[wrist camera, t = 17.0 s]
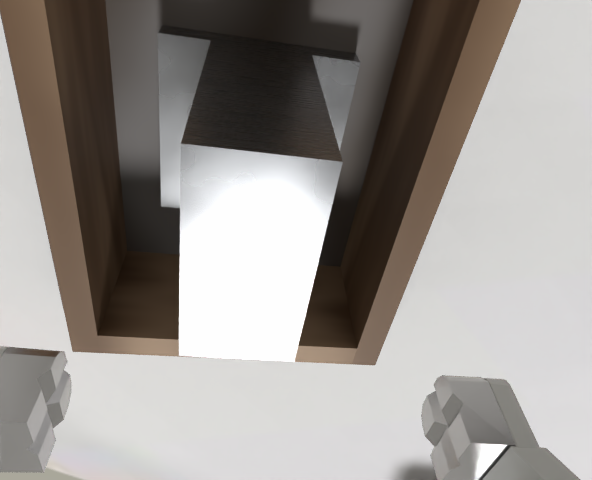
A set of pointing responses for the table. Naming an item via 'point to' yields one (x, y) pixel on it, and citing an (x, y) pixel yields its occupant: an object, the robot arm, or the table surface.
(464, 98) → the well box
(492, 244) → the table surface
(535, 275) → the table surface
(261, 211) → the metal bracket
